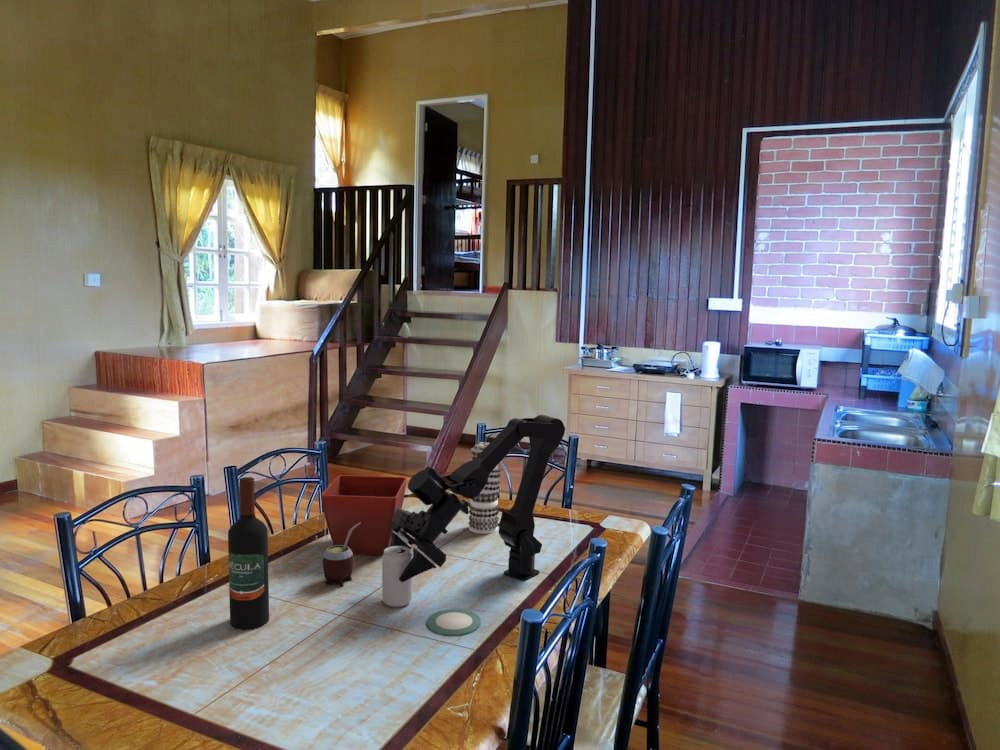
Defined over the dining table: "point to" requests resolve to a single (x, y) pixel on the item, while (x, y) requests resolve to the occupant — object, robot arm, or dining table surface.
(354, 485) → the plant pot
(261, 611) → the wine bottle
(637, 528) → the dining table surface
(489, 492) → the decorative candle
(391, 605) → the beverage can
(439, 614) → the coaster
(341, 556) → the mate gourd
